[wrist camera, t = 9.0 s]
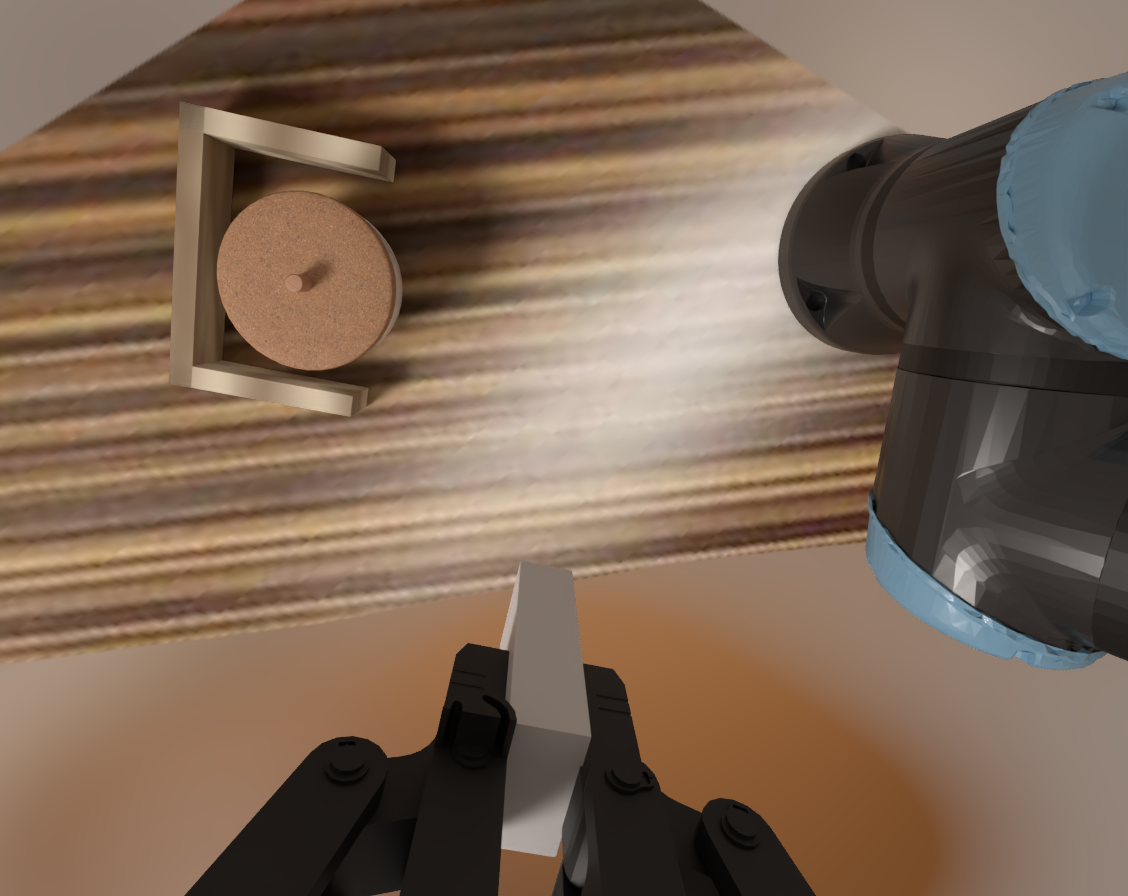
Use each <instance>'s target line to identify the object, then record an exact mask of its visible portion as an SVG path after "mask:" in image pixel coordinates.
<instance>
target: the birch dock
mask: <svg viewBox="0 0 1128 896" xmlns="http://www.w3.org/2000/svg"><path fill="white" fill-rule="evenodd" d="M235 148H236V149H240V150H245V151H250V152H254V153H259V154H263V155H268V156H273V157H277V158H282V159H287V160H291V161H296V162H300V163H305V164H310V165H314V166H319V167H323V168H328V169H333V170H337V171H342V172H346V173H351V174H356V175H360V176H365V177H369V178H374V179H379V180H383V181H388V182H392V183H393V182H394V174H395V166H396V160H395V159H394V158H393V157H392V156H391V155H390V154H389V153H388V152H387V151H386V150H385V149H384V148H383V147H382V146H378V145H373V144H369V143H364V142H360V141H355V140H351V139H346V138H342V137H337V136H333V135H328V134H324V133H319V132H315V131H310V130H306V129H301V128H297V127H292V126H288V125H283V124H279V123H274V122H270V121H265V120H261V119H256V118H252V117H247V116H243V115H238V114H234V113H229V112H225V111H220V110H216V109H211V108H207V107H202V106H198V105H193V104H189V103H184V102H180V113H179V139H178V165H177V190H176V216H175V242H174V268H173V293H172V319H171V345H170V371H169V384H175V385H180V386H186V387H191V388H196V389H202V390H207V391H213V392H218V393H224V394H229V395H235V396H240V397H246V398H251V399H257V400H262V401H268V402H273V403H279V404H284V405H290V406H295V407H301V408H306V409H311V410H317V411H322V412H328V413H333V414H339V415H344V416H350V417H351V416H352V415H354V414H355V413H357V412H359V411H360V410H362V409H363V408H365V407H367V398H368V390H369V388H367V387H362V386H356V385H351V384H346V383H340V382H335V381H330V380H324V379H319V378H314V377H308V376H303V375H298V374H292V373H287V372H282V371H276V370H271V369H266V368H260V367H255V366H250V365H244V364H239V363H234V362H228V361H223V343H224V326H225V308H224V306H223V303H222V300H221V297H220V293H219V289H218V282H217V260H218V254H219V249H220V246H221V243H222V240H223V237H224V235H225V233H226V231H227V230H228V228H229V226H230V224H231V210H232V193H233V176H234V160H235Z"/></svg>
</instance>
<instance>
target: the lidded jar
mask: <svg viewBox="0 0 1128 896" xmlns="http://www.w3.org/2000/svg"><path fill="white" fill-rule="evenodd" d="M217 282H218V289H219V293H220V297H221V300H222V303H223V306H224V308H225V310H226V312H227V315H228V317H229V319H230V320H231V322H232V323H233V325H234V326H235V328H236V329H237V331H238V332H239V333H240V334H241V335H242V337H243V338H244V339H245V340H246V341H247V342H248V343H249V344H250V345H251V346H253V347H254V348H255V349H256V350H257V351H259V352H260V353H262V354H263V355H265V356H266V357H268V358H269V359H272V360H274V361H276V362H278V363H280V364H282V365H286V366H289V367H292V368H296V369H303V370H326V369H332V368H337V367H340V366H343V365H346V364H349V363H351V362H353V361H354V360H356V359H358V358H360V357H362V356H363V355H364V354H366V353H368V352H370V351H371V350H372V349H373V348H375V347H376V346H377V345H379V343H380V342H381V341H382V340H383V339H384V338H385V337H386V336H387V335H388V334H389V332H390V330H391V329H392V327H393V326H394V324H395V322H396V320H397V317H398V315H399V311H400V307H401V303H402V293H403V288H402V277H401V273H400V268H399V265H398V262H397V260H396V257H395V255H394V253H393V251H392V249H391V247H390V246H389V244H388V243H387V241H386V240H385V239H384V237H383V236H382V235H381V233H380V232H379V231H378V230H377V229H376V228H375V227H374V226H373V225H372V224H371V223H370V222H369V221H367V220H366V219H365V218H363V217H362V216H361V215H359V214H358V213H357V212H355V211H354V210H353V209H351V208H350V207H348V206H347V205H345V204H343V203H341V202H339V201H337V200H335V199H333V198H330V197H327V196H324V195H322V194H319V193H314V192H308V191H284V192H278V193H274V194H271V195H268V196H265V197H262V198H260V199H259V200H257V201H255V202H253V203H252V204H250V205H249V206H248V207H246V208H245V209H244V210H243V211H242V212H240V213H239V215H238V216H237V217H236V218H235V219H234V221H233V222H232V223H231V224H230V226H229V228H228V230H227V231H226V233H225V235H224V237H223V240H222V243H221V246H220V249H219V254H218V260H217Z"/></svg>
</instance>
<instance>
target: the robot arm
mask: <svg viewBox="0 0 1128 896" xmlns="http://www.w3.org/2000/svg"><path fill="white" fill-rule="evenodd" d="M778 265H779V276H780V282H781V286H782V290H783V293H784V296H785V299H786V301H787V303H788V306H789V307H790V309H791V311H792V313H793V314H794V316H795V317H796V319H797V320H798V321H799V322H800V324H801V325H802V326H803V327H804V328H805V329H806V330H807V331H808V332H809V333H811V334H812V335H813V336H814V337H816V338H817V339H819V340H820V341H822V342H824V343H826V344H828V345H830V346H832V347H835V348H838V349H841V350H845V351H850V352H856V353H862V354H871V355H883V354H893V353H900V352H901V353H900V359H899V364H898V367H897V372H896V377H895V382H894V387H893V392H892V397H891V402H890V407H889V412H888V417H887V422H886V427H885V432H884V437H883V442H882V447H881V452H880V457H879V462H878V467H877V472H876V477H875V482H874V487H873V488H872V489H871V491H870V492H869V497H868V509H869V513H870V517H869V524H868V532H867V539H866V557H867V561H868V564H869V565H870V567H871V569H872V570H873V572H874V574H875V577H876V579H877V581H878V582H879V584H880V585H881V586H882V587H883V589H884V590H885V591H886V592H887V593H888V594H889V595H890V596H891V597H892V598H893V599H894V600H895V601H896V602H897V603H899V604H900V605H901V606H902V607H903V608H905V609H906V610H907V611H908V612H910V613H911V614H912V615H914V616H915V617H917V618H918V619H920V620H921V621H923V622H925V623H926V624H928V625H929V626H931V627H933V628H935V629H936V630H938V631H940V632H941V633H943V634H945V635H947V636H949V637H951V638H953V639H955V640H957V641H959V642H961V643H963V644H965V645H968V646H970V647H972V648H975V649H977V650H979V651H982V652H985V653H988V654H991V655H993V656H996V657H999V658H1003V659H1006V660H1008V659H1011V658H1012V657H1013V656H1015V657H1017V658H1019V659H1021V660H1023V661H1024V662H1025V663H1027V664H1029V665H1030V666H1032V667H1038V668H1044V669H1052V670H1070V669H1078V668H1084V667H1086V666H1089V665H1091V664H1092V663H1094V662H1095V661H1096V660H1097V659H1099V658H1102V657H1103V656H1105V655H1106V654H1107V653H1109V654H1111V655H1114V656H1116V657H1119V658H1122V659H1124V660H1127V661H1128V72H1125V73H1122V74H1119V75H1116V76H1113V77H1110V78H1101V79H1096V80H1092V81H1089V82H1083V83H1078V84H1074V85H1072V86H1071V87H1069V88H1067V89H1062V90H1060V91H1058V92H1055V93H1053V94H1052V95H1050V96H1049V97H1047V98H1046V99H1045V100H1043V101H1040V102H1038V103H1035V104H1033V105H1030V106H1028V107H1026V108H1023V109H1021V110H1018V111H1016V112H1013V113H1011V114H1008V115H1006V116H1004V117H1001V118H998V119H996V120H993V121H991V122H989V123H986V124H984V125H981V126H979V127H976V128H974V129H971V130H969V131H966V132H964V133H961V134H959V135H957V136H954V137H952V138H949V139H945V138H938V137H931V136H924V135H916V134H902V135H893V136H887V137H883V138H879V139H875V140H872V141H869V142H867V143H864V144H862V145H860V146H858V147H856V148H854V149H851V150H849V151H847V152H845V153H843V154H841V155H840V156H838V157H836V158H835V159H833V160H832V161H830V162H829V163H828V164H826V165H825V166H824V167H822V168H821V169H820V170H819V171H818V172H817V173H816V174H815V175H814V176H813V177H812V178H811V179H810V180H809V181H808V183H807V184H806V185H805V186H804V188H803V189H802V190H801V192H800V193H799V195H798V196H797V198H796V199H795V201H794V203H793V205H792V207H791V209H790V211H789V213H788V216H787V218H786V221H785V224H784V227H783V230H782V234H781V239H780V245H779V256H778ZM630 715H631V712H630V707H629V704H628V698H627V694H626V689H625V684H624V683H623V682H622V680H621V679H620V678H619V676H618V675H617V674H616V672H615V671H614V670H613V669H609V668H604V667H599V666H594V665H588V664H583V661H582V653H581V644H580V636H579V627H578V618H577V609H576V601H575V592H574V583H573V575H572V571H569V570H565V569H560V568H555V567H550V566H545V565H540V564H536V563H531V562H526V561H520V566H519V570H518V574H517V578H516V582H515V586H514V590H513V594H512V598H511V603H510V607H509V611H508V615H507V619H506V623H505V627H504V632H503V635H502V639H501V644H500V649H496V648H491V647H486V646H481V645H475V644H470V643H468V644H467V645H465V646H464V647H463V648H462V649H461V650H460V651H459V652H458V653H457V654H456V658H455V662H454V666H453V670H452V675H451V679H450V683H449V687H448V692H447V696H446V701H445V704H444V707H443V710H442V714H441V719H440V723H439V728H438V732H437V735H436V737H435V739H434V740H433V741H432V742H431V743H430V745H428V746H427V747H425V748H424V749H422V750H421V751H418V752H416V753H413V754H411V755H406V756H401V757H391V758H387V756H386V754H385V753H384V752H383V750H382V749H381V748H380V747H379V746H378V745H376V744H375V743H373V742H371V741H369V740H368V739H364V738H359V737H354V736H350V737H339V738H335V739H332V740H329V741H327V742H324V743H322V744H321V745H319V746H318V747H317V748H316V749H315V750H313V751H312V752H311V753H310V754H309V755H308V756H307V757H306V758H305V759H304V761H303V762H302V763H301V764H300V765H299V766H298V767H297V769H296V770H295V771H294V772H293V773H292V774H291V776H290V777H289V778H288V779H287V780H286V781H285V782H284V783H283V785H282V786H281V787H280V788H279V789H278V790H277V791H276V792H275V794H274V795H273V796H272V797H271V798H270V799H269V800H268V801H267V803H266V804H265V805H264V806H263V807H262V808H261V809H260V811H259V812H258V813H257V814H256V815H255V816H254V817H253V818H252V820H251V821H250V822H249V823H248V824H247V825H246V826H245V828H244V829H243V830H242V831H241V832H240V833H239V834H238V835H237V837H236V838H235V839H234V840H233V841H232V842H231V843H230V845H229V846H228V847H227V848H226V849H225V850H224V852H223V853H222V854H221V855H220V856H219V857H218V858H217V859H216V861H215V862H214V863H213V864H212V865H211V866H210V867H209V868H208V870H207V871H206V872H205V873H204V874H203V875H202V876H201V877H200V879H199V880H198V881H197V882H196V883H195V884H194V885H193V887H192V888H191V889H190V890H189V891H188V892H187V893H186V895H185V896H372V895H377V894H382V893H388V892H393V891H398V890H401V892H400V896H498V886H499V872H500V856H501V849H508V850H513V851H520V852H526V853H532V854H539V855H546V856H552V857H556V854H557V851H558V847H559V844H560V841H561V837H562V845H563V860H562V863H561V866H560V869H559V873H558V876H557V879H556V883H555V886H554V890H553V893H552V896H816V895H815V894H814V892H813V891H812V889H811V888H810V886H809V885H808V883H807V882H806V880H805V879H804V877H803V876H802V874H801V873H800V871H799V870H798V868H797V867H796V865H795V864H794V862H793V861H792V859H791V858H790V856H789V855H788V853H787V852H786V850H785V849H784V847H783V846H782V845H781V843H780V841H779V840H778V838H777V837H776V835H775V834H774V832H773V831H772V829H771V828H770V826H769V825H768V824H767V823H766V822H765V821H764V819H762V817H761V816H760V815H759V814H757V813H756V812H755V811H753V810H752V809H751V808H749V807H748V806H746V805H744V804H741V803H739V802H737V801H735V800H731V799H723V798H719V799H715V800H711V801H709V802H708V803H707V805H706V806H705V807H704V808H703V811H702V813H701V812H699V811H696V810H694V809H692V808H690V807H688V806H685V805H683V804H681V803H679V802H677V801H675V800H673V799H671V798H669V797H668V796H666V795H665V794H664V793H662V792H661V790H660V786H659V783H658V781H657V779H656V777H655V774H654V773H653V772H652V771H651V770H650V769H649V768H648V767H647V766H646V764H644V763H643V762H641V758H640V753H639V748H638V744H637V739H636V735H635V730H634V726H633V721H632V717H631V716H630Z"/></svg>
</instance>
